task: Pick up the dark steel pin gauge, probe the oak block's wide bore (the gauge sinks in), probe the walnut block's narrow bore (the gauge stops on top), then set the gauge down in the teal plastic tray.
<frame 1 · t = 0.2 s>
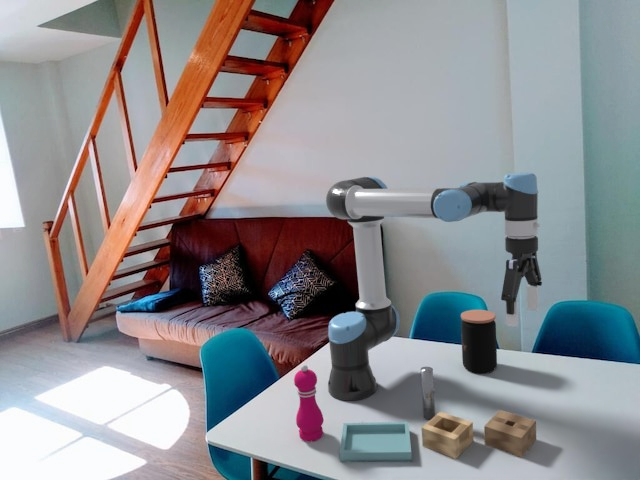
hand: (522, 317, 126), 28 cm above the table, fingers open, 13 cm apart
teal tray: (376, 445, 124), on the table
pin gauge: (429, 416, 135), on the table
coffee jar: (479, 368, 161), on the table
pepper mill: (311, 435, 132), on the table
walnut block narrow bore: (510, 441, 121), on the table
oak block wide bore: (448, 443, 123), on the table
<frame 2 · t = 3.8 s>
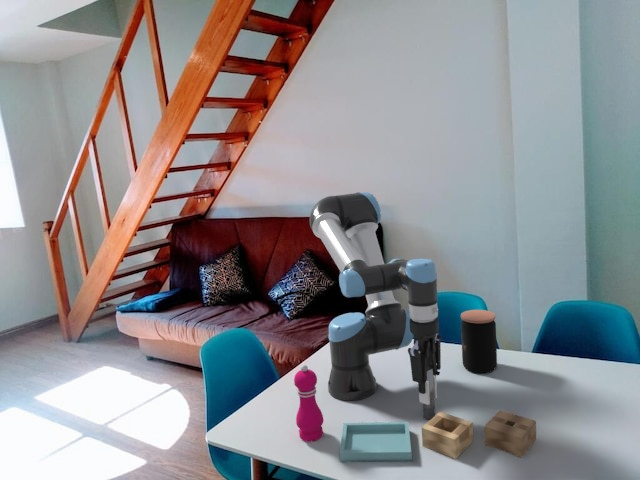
hand: (428, 399, 134), 5 cm above the table, fingers closed on pin gauge, 3 cm apart
pin gauge: (429, 416, 135), on the table, touching gripper
everything else where it was.
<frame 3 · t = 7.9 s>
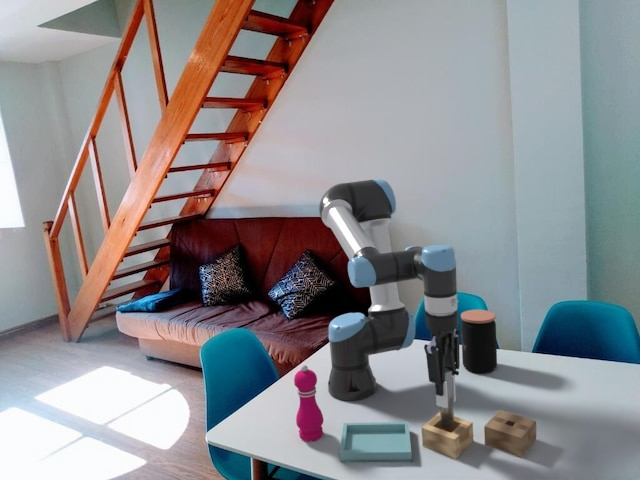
hand: (446, 402, 121), 11 cm above the table, fingers closed on pin gauge, 3 cm apart
pin gauge: (447, 424, 122), point 5 cm above the table, touching gripper
everything else where it was.
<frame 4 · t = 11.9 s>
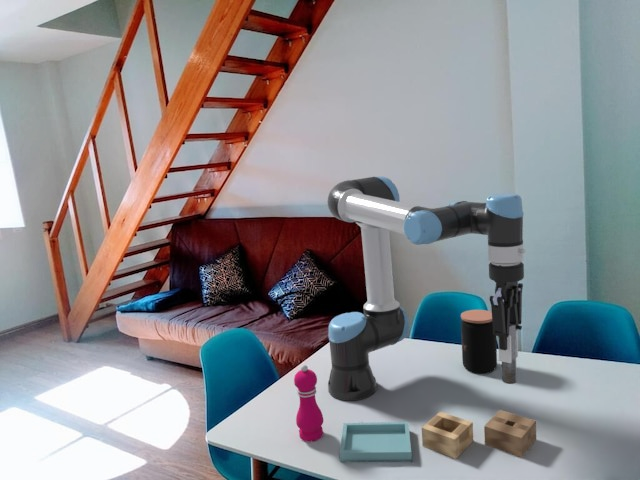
hand: (508, 358, 117), 22 cm above the table, fingers closed on pin gauge, 3 cm apart
pin gauge: (509, 380, 118), point 16 cm above the table, touching gripper
everything else where it was.
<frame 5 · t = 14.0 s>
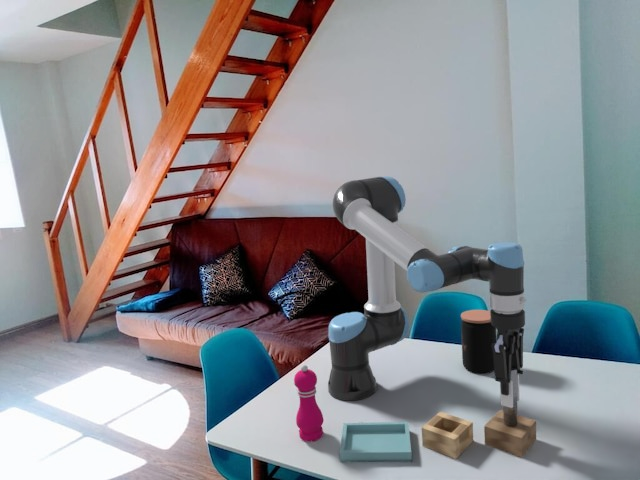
hand: (510, 402, 119), 11 cm above the table, fingers closed on pin gauge, 3 cm apart
pin gauge: (510, 423, 120), point 5 cm above the table, touching gripper, walnut block narrow bore
everything else where it was.
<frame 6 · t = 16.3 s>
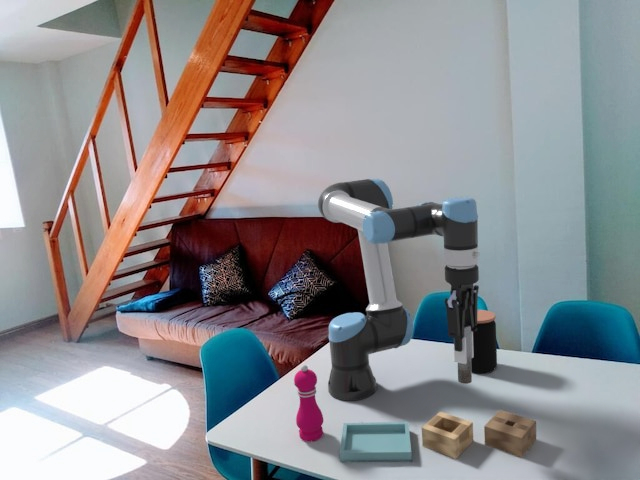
hand: (464, 359, 119), 22 cm above the table, fingers closed on pin gauge, 3 cm apart
pin gauge: (464, 380, 120), point 16 cm above the table, touching gripper
everything else where it was.
when the fingers open (7 cm above the table, at t = 20.1 s): pin gauge stays where it is, resting on teal tray.
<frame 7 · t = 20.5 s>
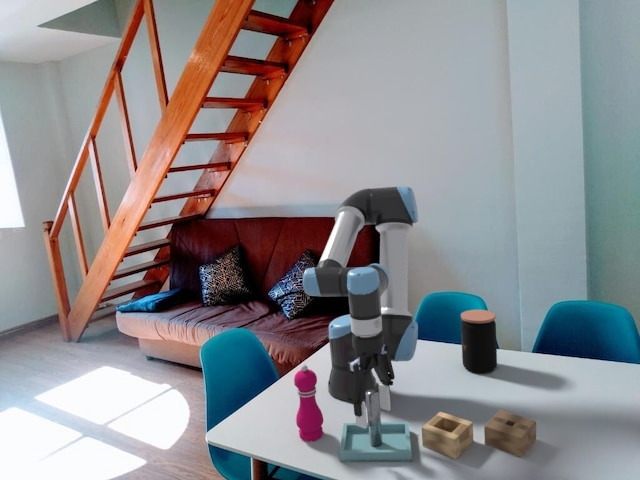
hand: (373, 417, 123), 8 cm above the table, fingers open, 9 cm apart
pin gauge: (376, 443, 124), point 1 cm above the table, touching teal tray
everything else where it was.
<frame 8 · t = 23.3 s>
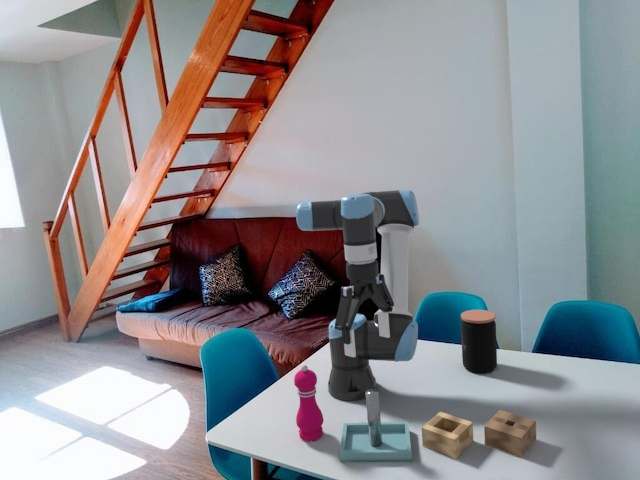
hand: (368, 345, 120), 27 cm above the table, fingers open, 13 cm apart
nothing on the table moved.
at the end: pin gauge 0.0 cm from the teal tray (horizontally); pin gauge point 0.6 cm above the table; the gripper is holding nothing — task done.
